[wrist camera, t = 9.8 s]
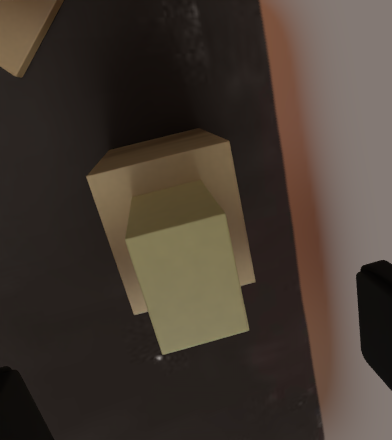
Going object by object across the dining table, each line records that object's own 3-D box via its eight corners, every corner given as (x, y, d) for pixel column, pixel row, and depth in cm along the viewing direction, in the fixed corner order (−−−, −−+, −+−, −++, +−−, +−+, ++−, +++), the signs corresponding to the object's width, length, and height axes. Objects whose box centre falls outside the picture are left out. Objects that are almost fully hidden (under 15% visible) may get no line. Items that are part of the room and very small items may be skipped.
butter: (131, 197, 16) (124, 239, 11) (200, 179, 16) (225, 212, 11) (158, 284, 18) (162, 356, 13) (220, 267, 18) (249, 331, 13)
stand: (108, 150, 25) (85, 176, 16) (199, 127, 25) (229, 140, 16) (138, 244, 28) (134, 315, 18) (219, 223, 28) (255, 282, 19)
